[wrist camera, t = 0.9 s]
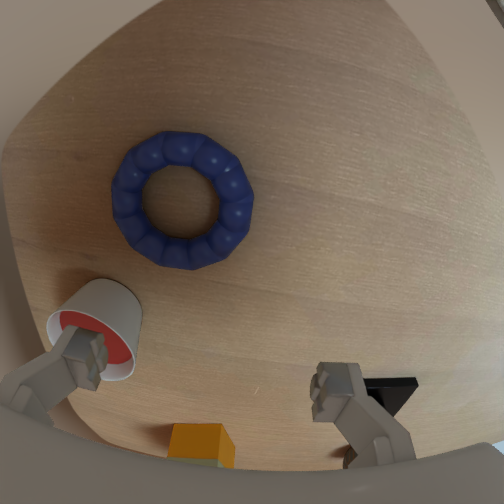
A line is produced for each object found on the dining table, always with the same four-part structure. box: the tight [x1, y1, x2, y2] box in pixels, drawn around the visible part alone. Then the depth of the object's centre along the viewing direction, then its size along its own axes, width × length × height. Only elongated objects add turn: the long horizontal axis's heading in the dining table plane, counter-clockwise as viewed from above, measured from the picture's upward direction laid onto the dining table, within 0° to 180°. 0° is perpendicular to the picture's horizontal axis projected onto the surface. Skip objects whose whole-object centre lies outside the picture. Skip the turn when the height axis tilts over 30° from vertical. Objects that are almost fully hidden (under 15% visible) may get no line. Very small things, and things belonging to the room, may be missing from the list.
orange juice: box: [167, 424, 235, 469], centre depth 34 cm, size 8×9×20 cm
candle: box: [47, 279, 142, 381], centre depth 27 cm, size 9×9×6 cm
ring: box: [111, 131, 254, 270], centre depth 23 cm, size 11×11×2 cm
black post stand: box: [363, 377, 419, 417], centre depth 32 cm, size 9×9×12 cm
